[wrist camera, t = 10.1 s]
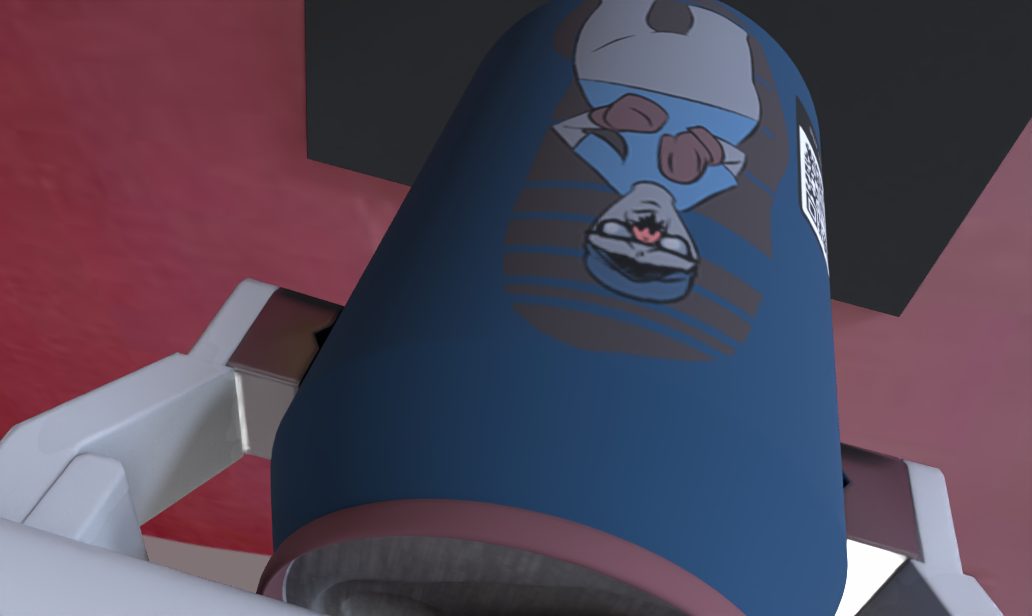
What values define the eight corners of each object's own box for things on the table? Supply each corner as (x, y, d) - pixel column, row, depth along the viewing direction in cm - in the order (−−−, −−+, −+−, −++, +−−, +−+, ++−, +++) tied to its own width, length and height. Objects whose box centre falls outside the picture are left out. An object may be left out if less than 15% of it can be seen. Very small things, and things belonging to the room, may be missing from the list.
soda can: (547, 280, 21) (385, 802, 12) (424, 18, 17) (63, 510, 8) (844, 226, 18) (906, 857, 9) (776, -101, 14) (777, 454, 6)
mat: (1281, -272, 17) (1288, -269, 16) (898, 311, 28) (899, 317, 27) (301, -492, 18) (295, -491, 17) (310, 154, 29) (306, 158, 28)
